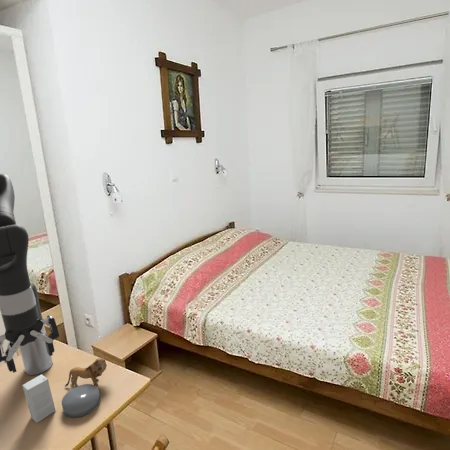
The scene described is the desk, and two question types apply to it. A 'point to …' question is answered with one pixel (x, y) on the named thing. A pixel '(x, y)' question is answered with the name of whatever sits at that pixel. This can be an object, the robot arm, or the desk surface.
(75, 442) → the desk surface
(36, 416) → the skincare box
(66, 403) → the grey rounded flat disc
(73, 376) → the lion figurine
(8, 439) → the desk surface
